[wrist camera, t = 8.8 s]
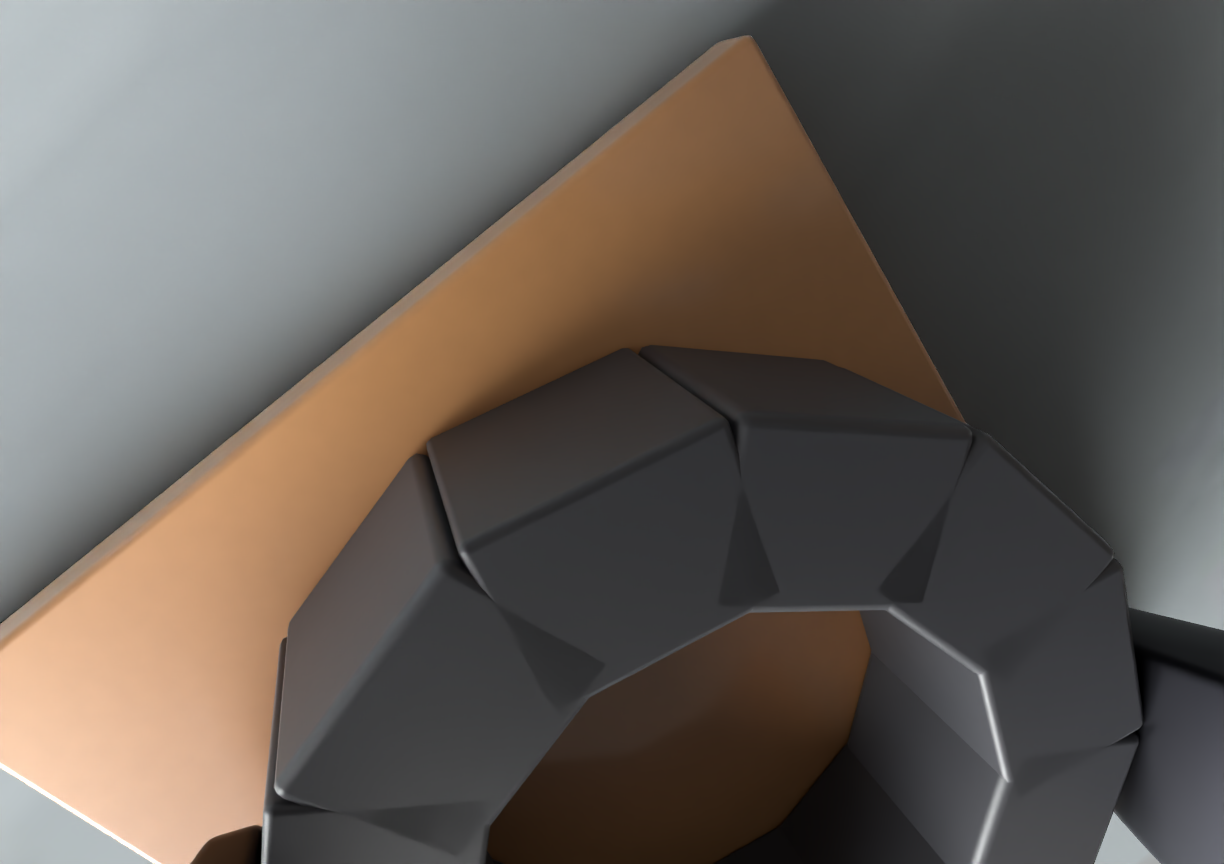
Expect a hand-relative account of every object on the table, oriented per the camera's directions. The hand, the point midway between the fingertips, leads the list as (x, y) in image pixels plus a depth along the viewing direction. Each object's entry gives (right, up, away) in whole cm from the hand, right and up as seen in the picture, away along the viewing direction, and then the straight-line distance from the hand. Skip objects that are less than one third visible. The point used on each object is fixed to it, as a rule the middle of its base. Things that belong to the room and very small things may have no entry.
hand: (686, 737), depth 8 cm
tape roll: (0, 0, 0) cm, 0 cm away
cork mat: (0, 0, +1) cm, 1 cm away
